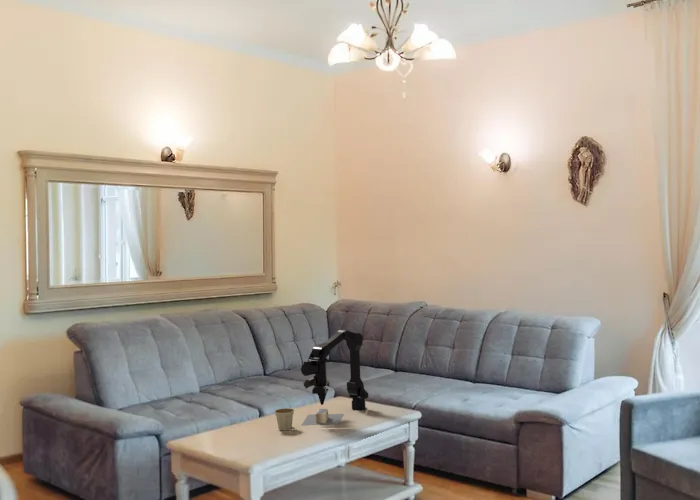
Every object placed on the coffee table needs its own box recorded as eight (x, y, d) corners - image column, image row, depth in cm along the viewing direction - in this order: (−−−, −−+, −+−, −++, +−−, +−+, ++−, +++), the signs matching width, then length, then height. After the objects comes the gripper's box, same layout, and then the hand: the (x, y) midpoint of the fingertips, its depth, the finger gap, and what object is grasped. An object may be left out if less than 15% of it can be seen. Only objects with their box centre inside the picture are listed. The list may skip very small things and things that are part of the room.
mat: (343, 415, 348) (343, 413, 348) (339, 425, 328) (339, 424, 328) (308, 415, 349) (308, 414, 349) (301, 426, 329) (301, 425, 329)
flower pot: (294, 431, 321) (293, 412, 321) (273, 432, 322) (273, 413, 322) (296, 426, 331) (295, 407, 331) (276, 426, 331) (275, 408, 331)
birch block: (328, 408, 341) (325, 413, 331) (328, 417, 341) (325, 423, 331) (318, 408, 341) (315, 413, 331) (319, 418, 341) (316, 423, 332)
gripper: (307, 369, 347) (308, 400, 348) (300, 376, 329) (302, 409, 329) (329, 368, 346) (330, 400, 346) (324, 376, 328) (325, 409, 328)
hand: (322, 404), depth 338 cm, fingers closed
